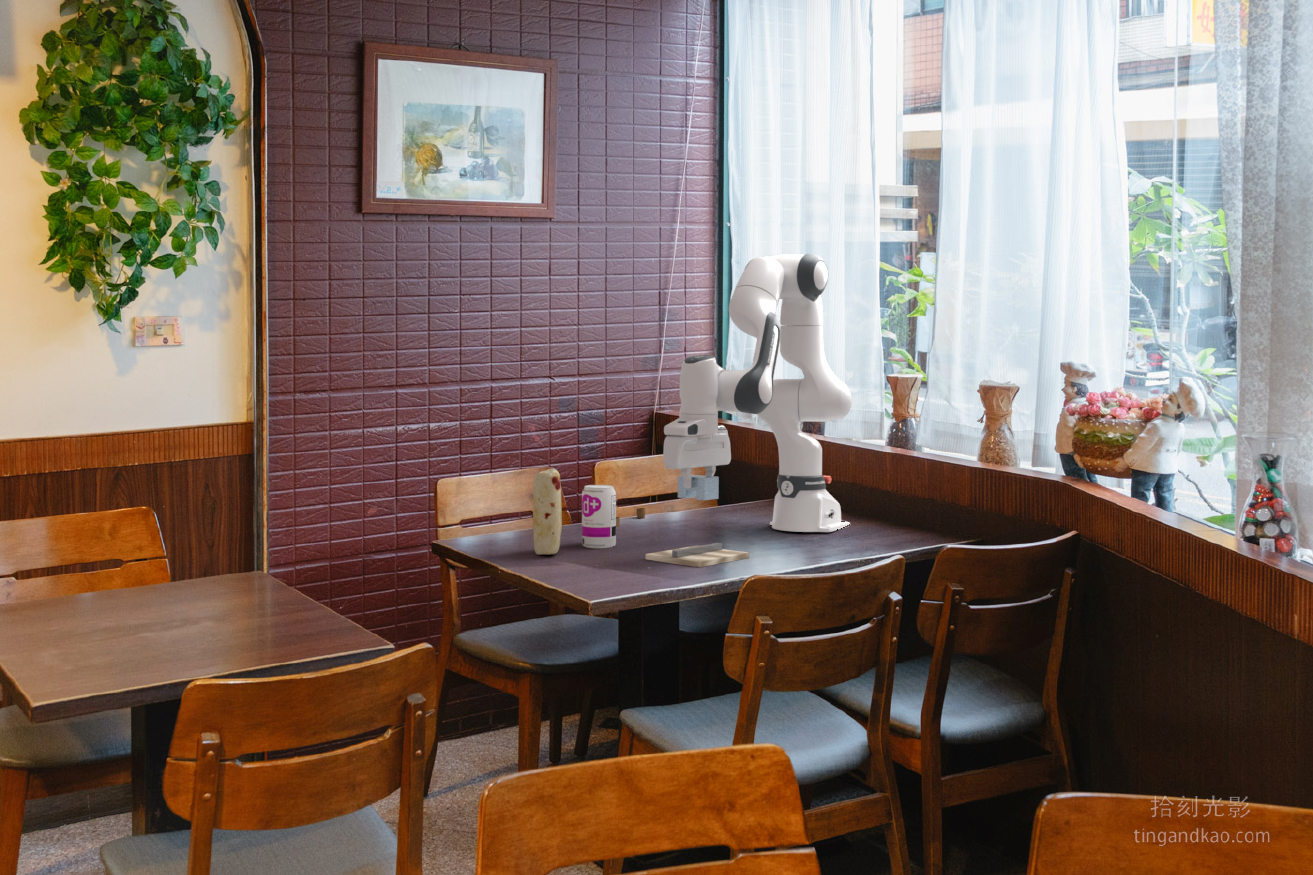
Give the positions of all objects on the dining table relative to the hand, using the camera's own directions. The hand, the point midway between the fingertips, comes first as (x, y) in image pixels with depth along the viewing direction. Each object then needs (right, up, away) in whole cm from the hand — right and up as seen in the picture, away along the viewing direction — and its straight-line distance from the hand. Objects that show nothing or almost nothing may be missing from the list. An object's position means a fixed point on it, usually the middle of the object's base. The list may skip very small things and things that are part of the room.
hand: (698, 486), depth 274 cm
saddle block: (0, -3, 0) cm, 3 cm away
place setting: (-19, -15, +43) cm, 49 cm away
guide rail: (0, -15, +1) cm, 15 cm away
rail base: (0, -17, +1) cm, 17 cm away
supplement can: (-23, -16, +17) cm, 33 cm away
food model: (-35, -16, +7) cm, 39 cm away
